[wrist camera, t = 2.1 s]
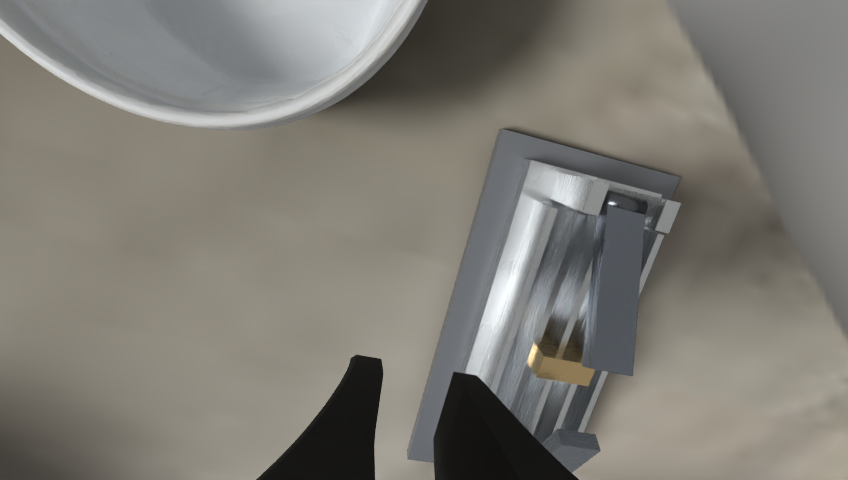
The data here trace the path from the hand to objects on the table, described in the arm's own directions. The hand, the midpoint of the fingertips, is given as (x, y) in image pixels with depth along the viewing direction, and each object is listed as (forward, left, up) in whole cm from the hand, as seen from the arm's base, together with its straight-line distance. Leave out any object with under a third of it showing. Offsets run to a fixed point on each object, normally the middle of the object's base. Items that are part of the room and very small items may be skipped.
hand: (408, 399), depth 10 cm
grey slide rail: (-2, -8, -9) cm, 12 cm away
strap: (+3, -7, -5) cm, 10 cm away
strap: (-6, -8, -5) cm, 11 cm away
